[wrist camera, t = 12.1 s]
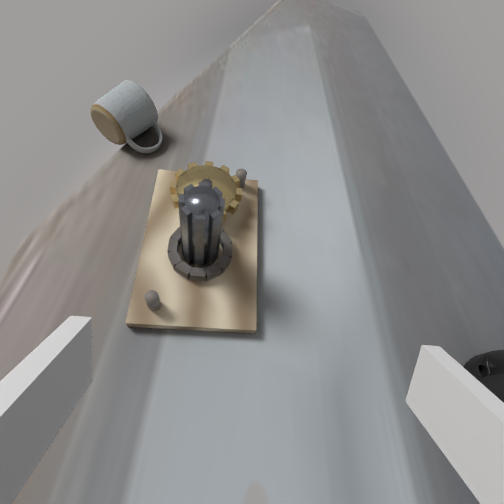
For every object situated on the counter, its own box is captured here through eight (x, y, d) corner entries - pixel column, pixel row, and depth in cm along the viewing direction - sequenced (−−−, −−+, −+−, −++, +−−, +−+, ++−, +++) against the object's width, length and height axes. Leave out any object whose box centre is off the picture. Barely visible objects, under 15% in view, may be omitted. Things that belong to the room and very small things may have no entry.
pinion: (219, 239, 46) (226, 184, 36) (216, 270, 44) (223, 220, 33) (184, 236, 45) (181, 179, 35) (180, 267, 43) (175, 216, 33)
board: (256, 186, 54) (260, 167, 50) (254, 333, 42) (260, 323, 38) (159, 175, 52) (156, 155, 48) (127, 326, 40) (120, 315, 36)
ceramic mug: (93, 134, 54) (79, 93, 48) (128, 111, 58) (119, 70, 52) (142, 165, 53) (134, 128, 46) (174, 139, 57) (171, 101, 50)
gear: (240, 181, 52) (243, 160, 48) (238, 234, 47) (241, 216, 43) (176, 174, 51) (174, 152, 47) (166, 228, 46) (163, 208, 42)
